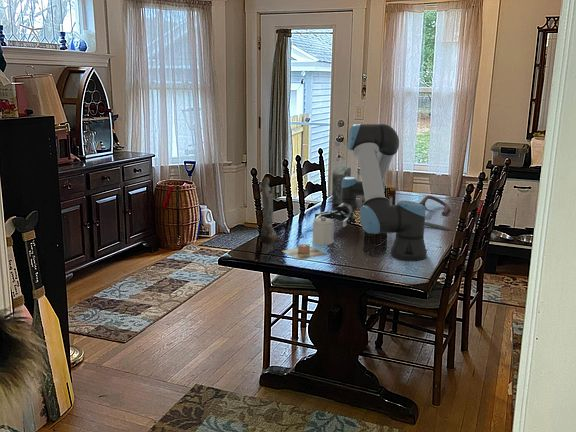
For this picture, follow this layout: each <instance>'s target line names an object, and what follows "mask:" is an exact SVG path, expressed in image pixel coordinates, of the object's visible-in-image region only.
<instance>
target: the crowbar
mask: <svg viewBox="0 0 576 432" xmlns="http://www.w3.org/2000/svg"><path fill="white" fill-rule="evenodd" d="M424 227H430V228H434V229H439V230H445V231H450V230H451V227H450V226H445V225H442V224H437V223H433V222H428V221H425V226H424Z"/></svg>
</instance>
